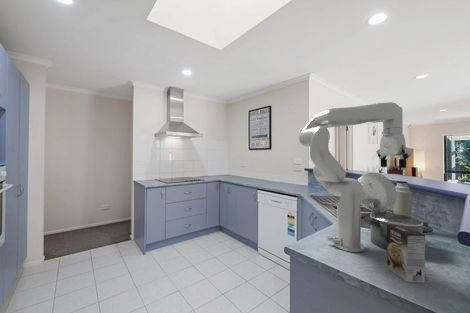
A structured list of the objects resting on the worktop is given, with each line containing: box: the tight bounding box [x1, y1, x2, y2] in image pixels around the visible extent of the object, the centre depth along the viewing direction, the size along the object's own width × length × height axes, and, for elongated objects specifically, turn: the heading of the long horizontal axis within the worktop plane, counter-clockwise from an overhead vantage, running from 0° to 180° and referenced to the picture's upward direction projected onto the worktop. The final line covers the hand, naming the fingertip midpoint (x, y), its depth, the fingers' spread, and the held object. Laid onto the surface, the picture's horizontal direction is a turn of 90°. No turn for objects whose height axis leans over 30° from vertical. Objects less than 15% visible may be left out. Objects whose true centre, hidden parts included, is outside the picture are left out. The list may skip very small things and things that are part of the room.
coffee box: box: [386, 225, 426, 284], centre depth 70 cm, size 9×6×16 cm
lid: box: [356, 172, 397, 213], centre depth 109 cm, size 22×21×4 cm
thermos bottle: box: [393, 180, 412, 217], centre depth 116 cm, size 8×8×28 cm
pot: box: [363, 212, 429, 251], centre depth 94 cm, size 26×20×13 cm
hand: (392, 167), depth 97 cm, fingers open, 9 cm apart
